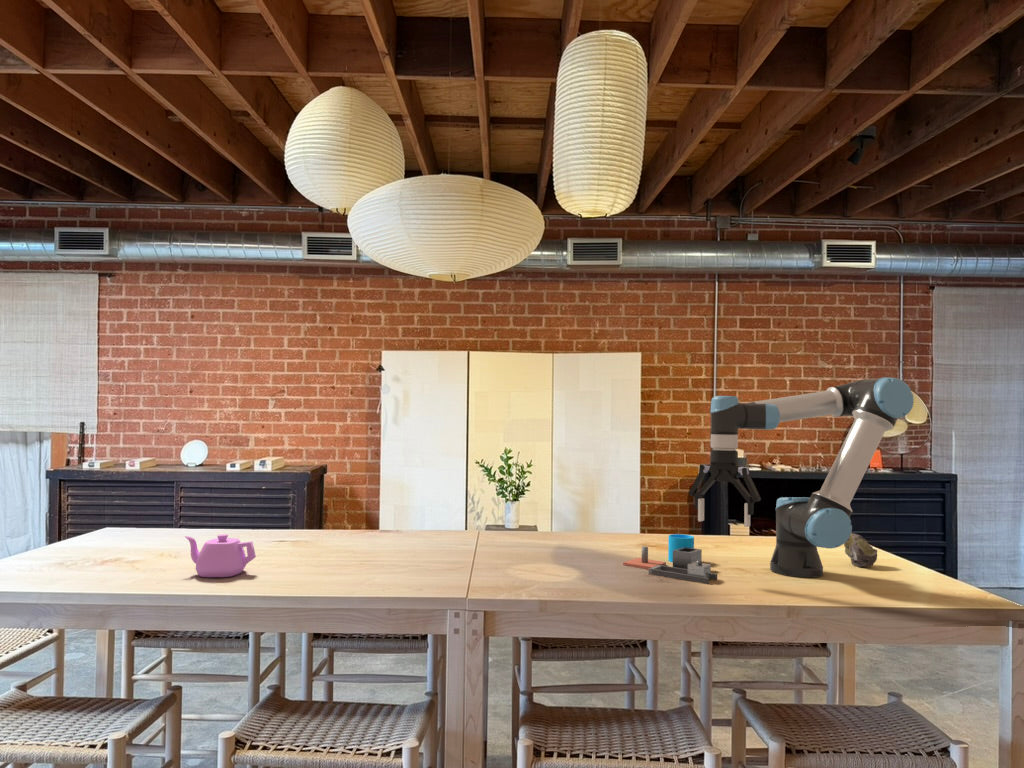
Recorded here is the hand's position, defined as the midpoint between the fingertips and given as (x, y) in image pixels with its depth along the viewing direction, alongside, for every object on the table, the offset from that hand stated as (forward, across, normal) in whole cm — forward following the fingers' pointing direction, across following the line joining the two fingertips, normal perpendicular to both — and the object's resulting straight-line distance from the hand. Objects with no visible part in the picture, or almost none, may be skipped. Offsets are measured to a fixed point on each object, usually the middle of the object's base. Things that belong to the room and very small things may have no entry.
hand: (723, 523), depth 196 cm
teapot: (+17, +113, +90) cm, 145 cm away
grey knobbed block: (+17, +7, 0) cm, 18 cm away
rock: (+17, -24, -54) cm, 62 cm away
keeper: (+17, +28, -6) cm, 33 cm away
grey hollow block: (+17, +15, -10) cm, 25 cm away
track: (+17, +12, 0) cm, 21 cm away
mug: (+17, +23, -21) cm, 36 cm away
